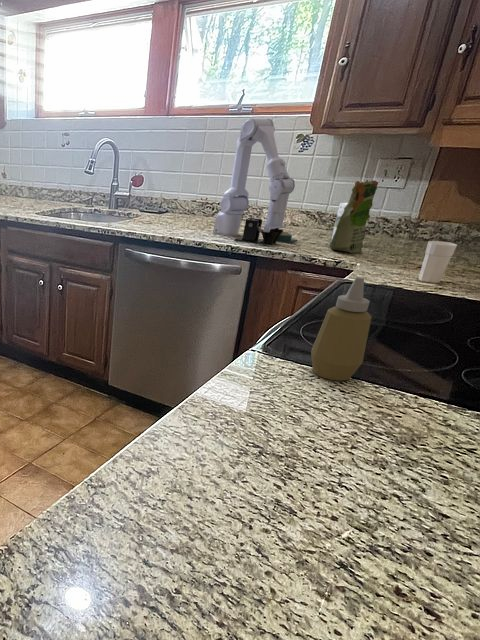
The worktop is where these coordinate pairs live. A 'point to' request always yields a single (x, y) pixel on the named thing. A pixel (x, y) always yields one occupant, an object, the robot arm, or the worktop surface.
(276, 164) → the robot arm
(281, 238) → the button block
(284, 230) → the button
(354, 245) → the pouch
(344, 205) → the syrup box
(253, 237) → the switch bracket
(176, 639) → the worktop surface
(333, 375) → the squeeze bottle
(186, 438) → the worktop surface
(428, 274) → the cup
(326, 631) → the worktop surface
